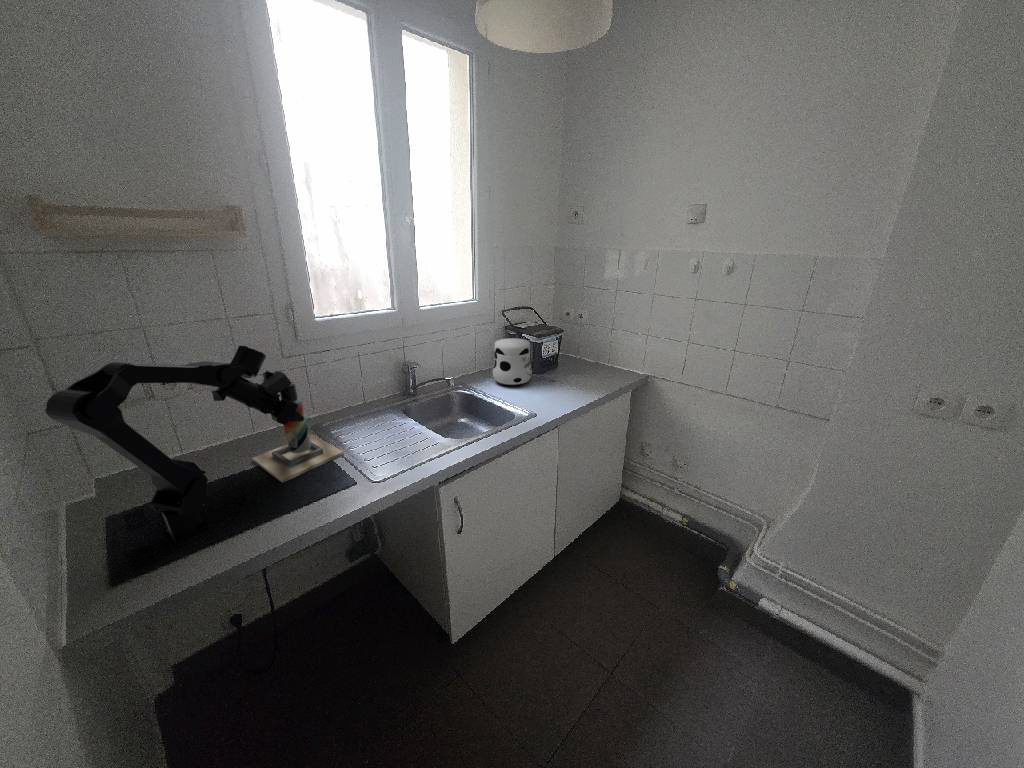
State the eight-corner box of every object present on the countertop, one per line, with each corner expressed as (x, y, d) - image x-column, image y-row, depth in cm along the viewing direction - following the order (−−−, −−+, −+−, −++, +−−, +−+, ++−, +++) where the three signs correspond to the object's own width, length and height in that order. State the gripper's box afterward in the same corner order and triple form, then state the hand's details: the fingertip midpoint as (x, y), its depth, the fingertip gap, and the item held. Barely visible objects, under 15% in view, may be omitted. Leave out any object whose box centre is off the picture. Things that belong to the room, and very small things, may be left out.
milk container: (539, 384, 175) (540, 344, 168) (504, 391, 166) (504, 350, 160) (518, 372, 188) (519, 335, 182) (486, 379, 180) (485, 340, 174)
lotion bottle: (287, 454, 112) (272, 389, 105) (292, 445, 118) (278, 381, 110) (309, 452, 114) (295, 387, 107) (313, 442, 119) (300, 380, 112)
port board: (282, 482, 106) (280, 475, 105) (252, 461, 116) (250, 453, 115) (343, 454, 120) (342, 447, 119) (312, 437, 130) (311, 430, 129)
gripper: (282, 373, 98) (331, 400, 110) (250, 359, 109) (298, 385, 121) (255, 412, 95) (308, 436, 107) (225, 394, 106) (277, 417, 118)
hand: (298, 416), depth 113 cm, fingers closed on lotion bottle, 5 cm apart
